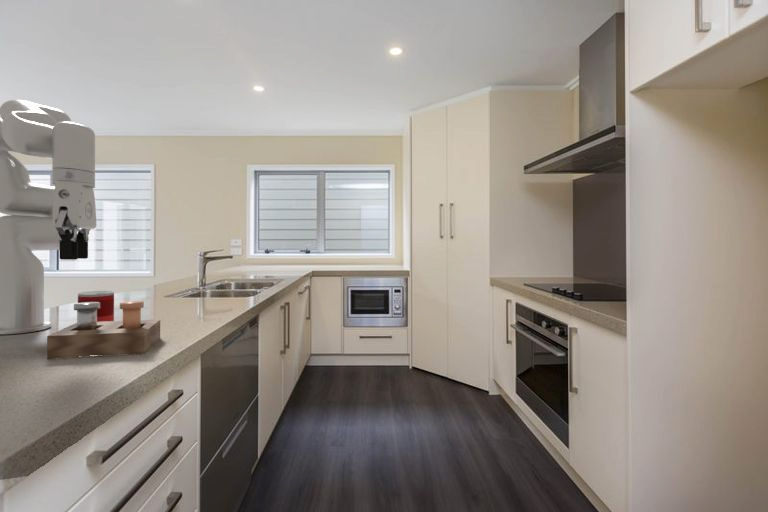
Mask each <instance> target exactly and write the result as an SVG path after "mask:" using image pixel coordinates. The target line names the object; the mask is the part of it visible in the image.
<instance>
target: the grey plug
mask: <svg viewBox="0 0 768 512" xmlns="http://www.w3.org/2000/svg"><path fill="white" fill-rule="evenodd" d="M99 308H100V302H83V303H78V302H77V303H73V310H74V311H76V317H77V318H76V323H77V330H96V329H97V309H99Z"/></svg>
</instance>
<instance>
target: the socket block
mask: <svg viewBox="0 0 768 512" xmlns="http://www.w3.org/2000/svg"><path fill="white" fill-rule="evenodd" d="M46 338H47V339H46V347H47V348H46V359H47V360H56V358H61V359H69V358H68V357H77V358H80V357H79V356H90V355H111V356H119V355H118V354H128V355H143V354H146V353H147V352H148V351H149V350H150V349H151V348H152V347H153V346H154V345H155V344H156V343H157V342H159V340H160V339H161V319H141V328H125V329H123V320H114V321H103V322H97V329H96V330H77V322H76V323H73V324H71V325H69V326H67V327H63V328H62V329H60V330H58V331H55V332H52V333H51V334H48V335H47V336H46ZM54 358H55V359H54Z"/></svg>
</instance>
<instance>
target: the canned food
mask: <svg viewBox="0 0 768 512" xmlns="http://www.w3.org/2000/svg"><path fill="white" fill-rule="evenodd" d="M83 302H100V308H99V309H97V322H103V321H115V316H114V315H115V292H114V291H112V290H93V291H84V292H79V293H78V294H77V303H83Z"/></svg>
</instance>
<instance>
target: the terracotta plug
mask: <svg viewBox="0 0 768 512" xmlns="http://www.w3.org/2000/svg"><path fill="white" fill-rule="evenodd" d="M144 305H145V302H144V301H143V300H142V301H141V300H131V301H122V302H119V309H121V310H122V321H123V329H125V328H141V320H142V317H141V316H142V314H141V312H142V311H141V310H142V309H143V308H144Z"/></svg>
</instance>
